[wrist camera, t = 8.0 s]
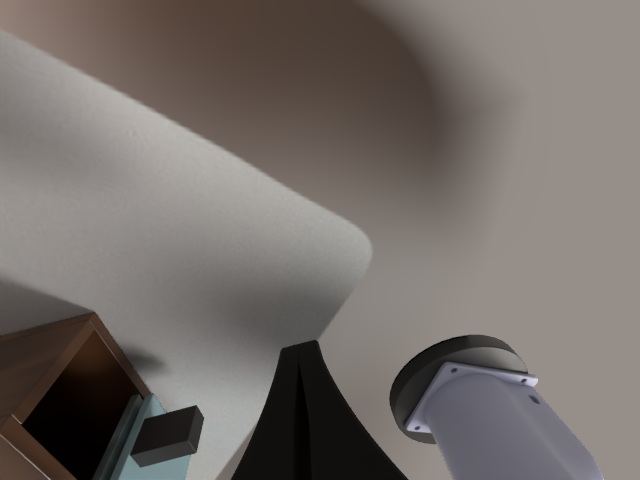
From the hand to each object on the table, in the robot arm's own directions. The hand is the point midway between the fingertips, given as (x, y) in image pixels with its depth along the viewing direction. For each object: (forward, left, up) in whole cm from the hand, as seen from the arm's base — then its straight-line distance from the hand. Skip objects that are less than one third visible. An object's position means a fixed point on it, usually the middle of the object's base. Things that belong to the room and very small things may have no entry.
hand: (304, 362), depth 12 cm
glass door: (+4, +16, -9) cm, 18 cm away
